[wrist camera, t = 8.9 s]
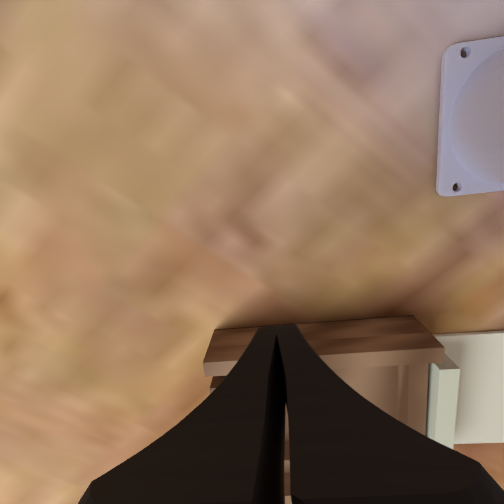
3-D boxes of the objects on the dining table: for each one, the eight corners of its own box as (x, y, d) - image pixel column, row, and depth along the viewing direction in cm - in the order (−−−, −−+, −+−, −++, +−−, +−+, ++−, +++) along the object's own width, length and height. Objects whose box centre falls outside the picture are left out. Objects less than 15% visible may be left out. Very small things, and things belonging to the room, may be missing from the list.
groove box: (413, 315, 20) (445, 347, 16) (409, 451, 23) (435, 504, 20) (214, 330, 21) (202, 362, 18) (235, 457, 24) (229, 507, 21)
